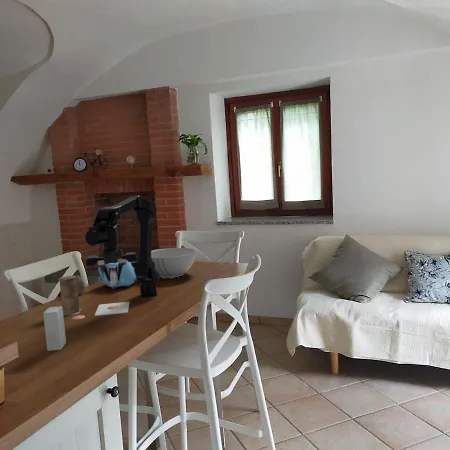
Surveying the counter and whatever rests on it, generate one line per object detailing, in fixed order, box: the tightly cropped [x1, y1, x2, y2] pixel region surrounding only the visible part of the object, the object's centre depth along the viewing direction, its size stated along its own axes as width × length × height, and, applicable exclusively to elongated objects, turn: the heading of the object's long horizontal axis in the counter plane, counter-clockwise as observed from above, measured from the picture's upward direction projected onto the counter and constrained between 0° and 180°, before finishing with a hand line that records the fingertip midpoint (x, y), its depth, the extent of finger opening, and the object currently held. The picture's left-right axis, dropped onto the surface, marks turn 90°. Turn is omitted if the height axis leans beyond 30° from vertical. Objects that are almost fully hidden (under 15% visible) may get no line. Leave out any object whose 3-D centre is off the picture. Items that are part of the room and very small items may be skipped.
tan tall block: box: [58, 275, 81, 316], centre depth 172 cm, size 5×5×14 cm
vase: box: [72, 274, 86, 296], centre depth 199 cm, size 7×7×9 cm
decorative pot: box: [97, 260, 137, 290], centre depth 211 cm, size 16×16×14 cm
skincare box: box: [42, 305, 67, 352], centre depth 137 cm, size 6×4×12 cm
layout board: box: [63, 301, 131, 321], centre depth 172 cm, size 26×16×1 cm, turn 99°
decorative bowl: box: [151, 247, 198, 279], centre depth 226 cm, size 27×27×12 cm
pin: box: [109, 266, 119, 286], centre depth 170 cm, size 3×3×7 cm
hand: (114, 280), depth 171 cm, fingers closed on pin, 3 cm apart
